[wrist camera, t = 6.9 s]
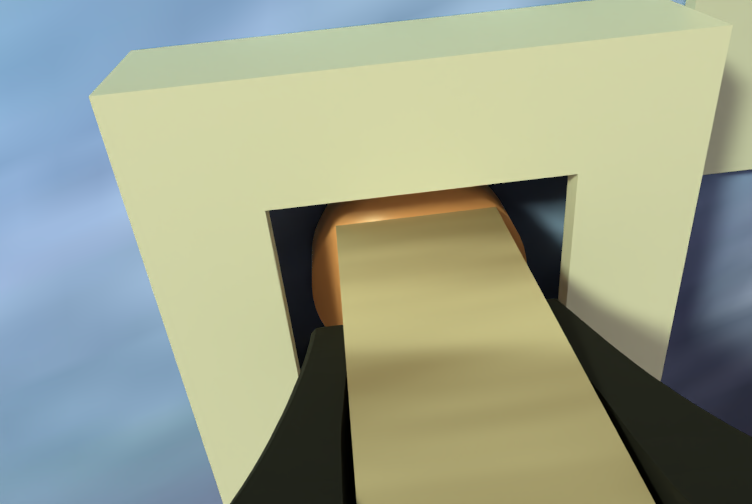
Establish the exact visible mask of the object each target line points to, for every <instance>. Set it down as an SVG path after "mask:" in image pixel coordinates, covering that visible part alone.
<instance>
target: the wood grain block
mask: <svg viewBox="0 0 752 504" xmlns="http://www.w3.org/2000/svg"><path fill="white" fill-rule="evenodd" d="M336 235H337V249H338V262H339V275H340V289H341V302H342V315H343V329H344V342H345V355H346V368H347V382H348V395H349V408H350V422H351V435H352V448H353V462H354V475H355V488H356V501H357V504H655V502H654V500H653V498H652V496H651V494H650V492H649V490H648V489H647V487H646V485H645V483H644V481H643V479H642V477H641V476H640V474H639V472H638V470H637V468H636V466H635V464H634V463H633V461H632V459H631V457H630V455H629V453H628V451H627V450H626V448H625V446H624V444H623V442H622V440H621V438H620V437H619V435H618V433H617V431H616V429H615V427H614V425H613V424H612V422H611V420H610V418H609V416H608V414H607V412H606V411H605V409H604V407H603V405H602V403H601V401H600V399H599V398H598V396H597V394H596V392H595V390H594V388H593V386H592V385H591V383H590V381H589V379H588V377H587V375H586V373H585V371H584V370H583V368H582V366H581V364H580V362H579V360H578V358H577V357H576V355H575V353H574V351H573V349H572V347H571V345H570V344H569V342H568V340H567V338H566V336H565V334H564V332H563V331H562V329H561V327H560V325H559V323H558V321H557V319H556V318H555V316H554V314H553V312H552V310H551V308H550V306H549V305H548V303H547V301H546V299H545V297H544V295H543V293H542V292H541V290H540V288H539V286H538V284H537V282H536V280H535V279H534V277H533V275H532V273H531V271H530V269H529V267H528V266H527V264H526V262H525V260H524V258H523V256H522V254H521V252H520V251H519V249H518V247H517V245H516V243H515V241H514V239H513V238H512V236H511V234H510V232H509V230H508V228H507V226H506V225H505V223H504V221H503V219H502V217H501V215H500V213H499V212H498V210H497V208H496V207H490V208H482V209H473V210H465V211H457V212H448V213H440V214H431V215H423V216H415V217H406V218H398V219H389V220H381V221H372V222H364V223H356V224H347V225H339V226H336Z"/></svg>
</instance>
